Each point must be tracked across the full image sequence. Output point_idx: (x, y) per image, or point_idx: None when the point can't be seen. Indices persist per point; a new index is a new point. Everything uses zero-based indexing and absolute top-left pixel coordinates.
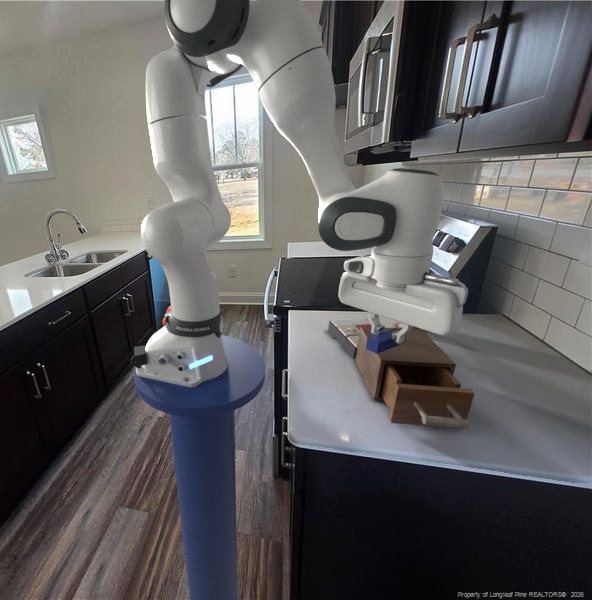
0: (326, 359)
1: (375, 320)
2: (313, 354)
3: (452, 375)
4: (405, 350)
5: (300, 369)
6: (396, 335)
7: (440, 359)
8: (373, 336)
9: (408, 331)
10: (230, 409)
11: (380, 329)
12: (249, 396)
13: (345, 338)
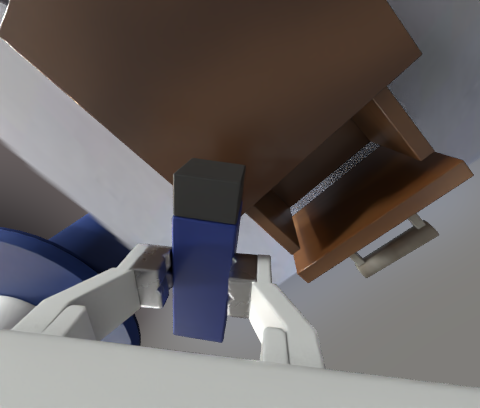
0: (76, 120)
1: (108, 313)
2: (44, 126)
3: (405, 115)
4: (239, 105)
5: (91, 202)
6: (249, 314)
7: (362, 65)
8: (179, 315)
9: (285, 300)
10: (139, 341)
11: (165, 290)
12: (129, 322)
13: (3, 2)
